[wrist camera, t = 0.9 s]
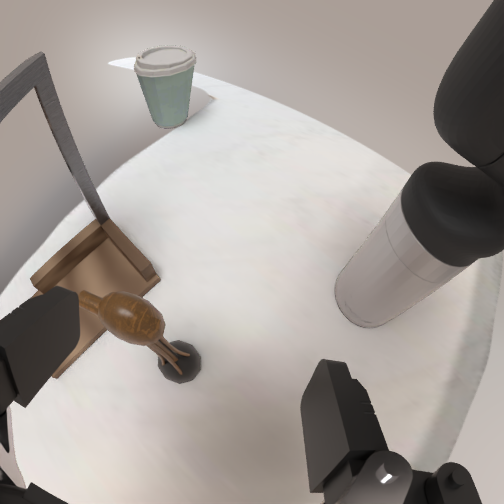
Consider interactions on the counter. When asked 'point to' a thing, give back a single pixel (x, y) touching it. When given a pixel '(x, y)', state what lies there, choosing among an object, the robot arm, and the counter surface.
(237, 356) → the counter surface
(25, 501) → the robot arm
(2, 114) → the stand
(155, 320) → the wooden tabletop sculpture
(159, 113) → the disposable coffee cup
